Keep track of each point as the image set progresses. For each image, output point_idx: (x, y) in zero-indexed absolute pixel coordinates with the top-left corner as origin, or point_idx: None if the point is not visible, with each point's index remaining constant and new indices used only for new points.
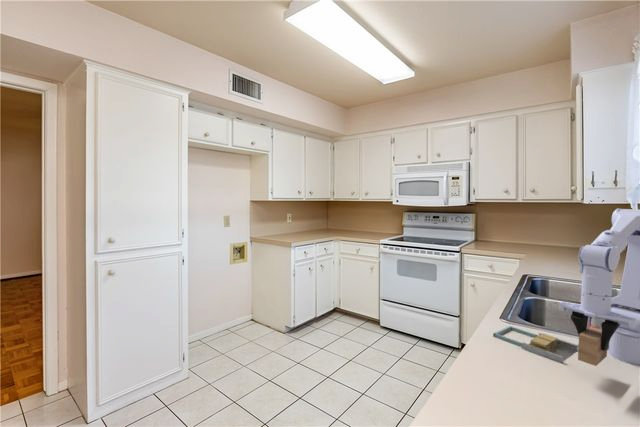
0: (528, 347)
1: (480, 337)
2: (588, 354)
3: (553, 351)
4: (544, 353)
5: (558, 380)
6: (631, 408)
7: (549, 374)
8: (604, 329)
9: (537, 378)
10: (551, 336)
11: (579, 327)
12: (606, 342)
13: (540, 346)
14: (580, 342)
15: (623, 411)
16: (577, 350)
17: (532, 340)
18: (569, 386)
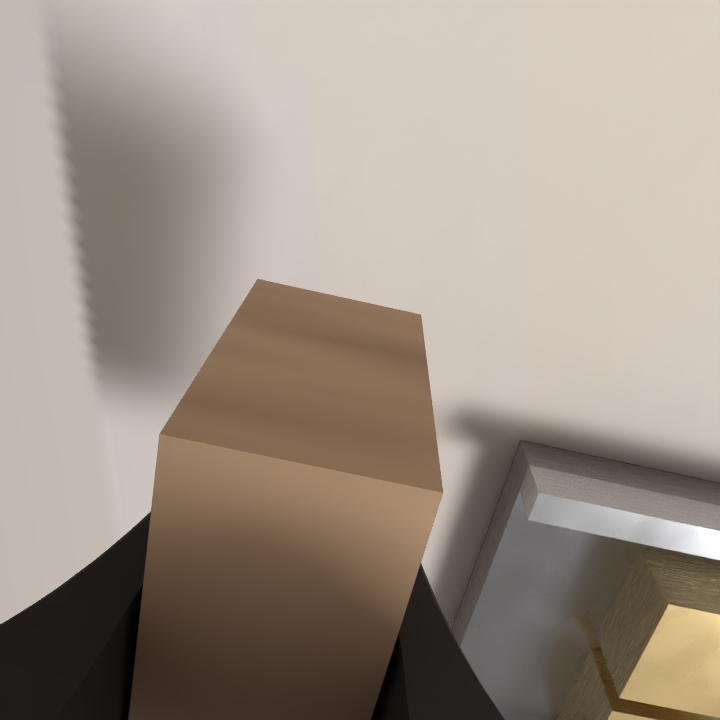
0: None
1: None
2: (318, 334)
3: (581, 623)
4: (662, 506)
5: (536, 202)
6: (75, 131)
7: (601, 263)
8: (3, 717)
9: (699, 100)
10: None
11: (449, 715)
12: (99, 558)
13: (699, 591)
14: (411, 411)
15: (106, 26)
16: None
17: None
18: (458, 156)
